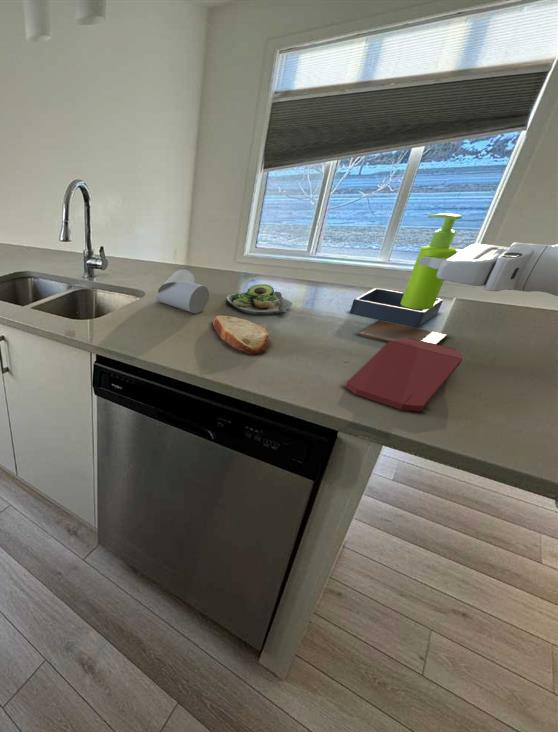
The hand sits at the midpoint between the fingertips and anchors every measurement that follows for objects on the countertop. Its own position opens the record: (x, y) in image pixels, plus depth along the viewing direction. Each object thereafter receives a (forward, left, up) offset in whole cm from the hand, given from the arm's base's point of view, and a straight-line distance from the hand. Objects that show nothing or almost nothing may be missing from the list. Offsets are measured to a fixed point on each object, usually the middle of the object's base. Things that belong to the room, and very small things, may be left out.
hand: (427, 257), depth 90 cm
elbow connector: (+54, +15, -19) cm, 59 cm away
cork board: (-1, 0, -19) cm, 19 cm away
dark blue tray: (+6, -15, -19) cm, 25 cm away
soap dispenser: (-1, 0, -11) cm, 11 cm away
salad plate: (+35, +2, -19) cm, 40 cm away
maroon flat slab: (-9, +23, -19) cm, 31 cm away
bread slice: (+26, +27, -19) cm, 42 cm away
